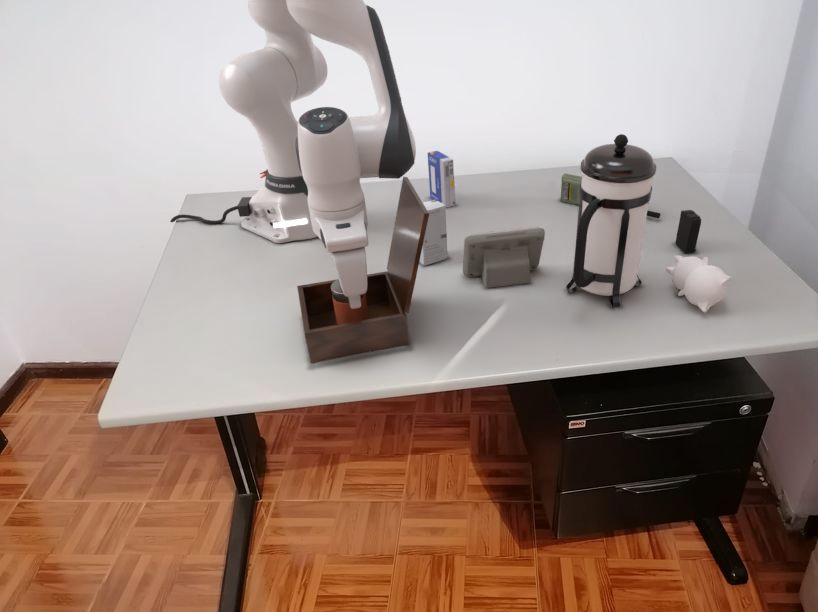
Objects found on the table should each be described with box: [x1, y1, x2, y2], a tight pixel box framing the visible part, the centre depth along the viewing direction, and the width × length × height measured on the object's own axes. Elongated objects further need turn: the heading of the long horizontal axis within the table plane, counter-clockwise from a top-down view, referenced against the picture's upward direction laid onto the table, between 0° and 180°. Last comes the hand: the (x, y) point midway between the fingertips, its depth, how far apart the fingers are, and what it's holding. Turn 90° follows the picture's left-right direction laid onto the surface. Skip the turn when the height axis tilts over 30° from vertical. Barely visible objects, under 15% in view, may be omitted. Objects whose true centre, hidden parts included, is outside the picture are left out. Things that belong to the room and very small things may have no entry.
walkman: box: [427, 150, 456, 208], centre depth 156 cm, size 8×3×12 cm, turn 32°
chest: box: [296, 270, 410, 364], centre depth 112 cm, size 17×16×7 cm
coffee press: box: [565, 133, 657, 308], centre depth 115 cm, size 17×16×30 cm
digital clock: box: [462, 226, 546, 289], centre depth 126 cm, size 16×9×11 cm, turn 89°
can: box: [331, 279, 369, 325], centre depth 111 cm, size 6×6×9 cm
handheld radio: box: [560, 173, 661, 219], centre depth 152 cm, size 7×3×25 cm
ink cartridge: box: [675, 209, 702, 254], centre depth 135 cm, size 5×2×8 cm, turn 10°
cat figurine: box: [665, 254, 732, 313], centre depth 119 cm, size 9×11×12 cm
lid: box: [386, 176, 429, 314], centre depth 107 cm, size 18×16×1 cm
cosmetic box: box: [419, 199, 449, 266], centre depth 132 cm, size 6×4×12 cm
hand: (351, 292), depth 109 cm, fingers open, 8 cm apart
